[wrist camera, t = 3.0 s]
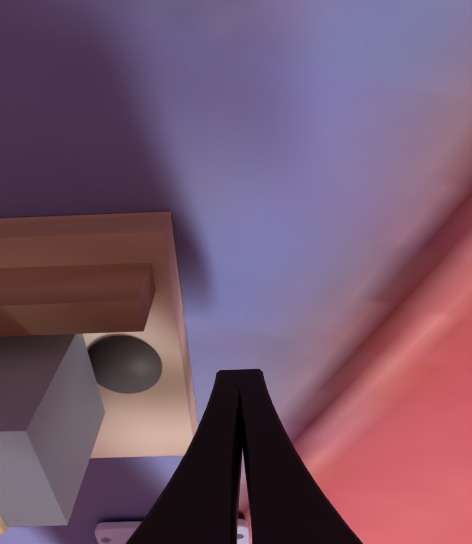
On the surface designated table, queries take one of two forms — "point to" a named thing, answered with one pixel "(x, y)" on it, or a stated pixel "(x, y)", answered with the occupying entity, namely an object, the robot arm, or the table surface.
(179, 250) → the table surface
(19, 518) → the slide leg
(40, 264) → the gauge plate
